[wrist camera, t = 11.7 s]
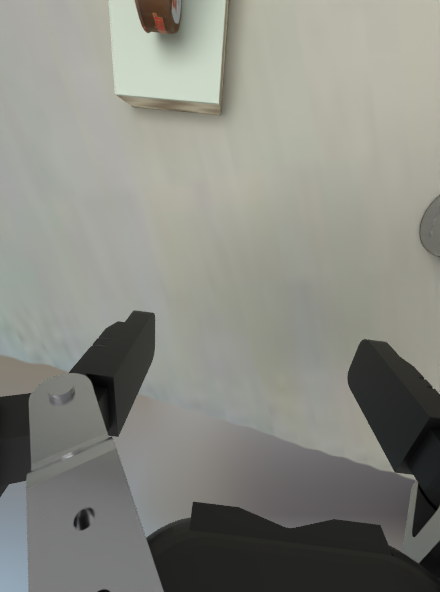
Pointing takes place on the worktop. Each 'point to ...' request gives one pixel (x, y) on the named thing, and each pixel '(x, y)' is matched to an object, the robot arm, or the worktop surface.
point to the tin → (159, 15)
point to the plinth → (170, 58)
